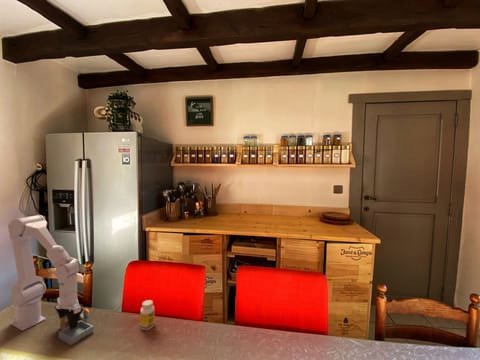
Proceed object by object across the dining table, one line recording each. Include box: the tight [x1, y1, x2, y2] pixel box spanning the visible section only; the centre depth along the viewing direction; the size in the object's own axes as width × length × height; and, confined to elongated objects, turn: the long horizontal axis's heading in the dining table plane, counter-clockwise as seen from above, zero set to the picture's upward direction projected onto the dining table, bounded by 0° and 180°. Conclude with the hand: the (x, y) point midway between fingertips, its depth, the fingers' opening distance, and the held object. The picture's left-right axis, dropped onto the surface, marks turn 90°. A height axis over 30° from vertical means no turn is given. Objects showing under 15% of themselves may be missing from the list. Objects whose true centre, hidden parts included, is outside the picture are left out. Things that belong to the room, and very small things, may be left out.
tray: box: [58, 319, 94, 347], centre depth 89 cm, size 8×8×2 cm
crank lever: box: [79, 307, 90, 322], centre depth 99 cm, size 12×4×6 cm, turn 55°
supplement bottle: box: [139, 299, 155, 331], centre depth 95 cm, size 5×5×10 cm
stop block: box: [59, 316, 69, 331], centre depth 93 cm, size 4×4×4 cm
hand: (68, 324), depth 93 cm, fingers open, 6 cm apart
